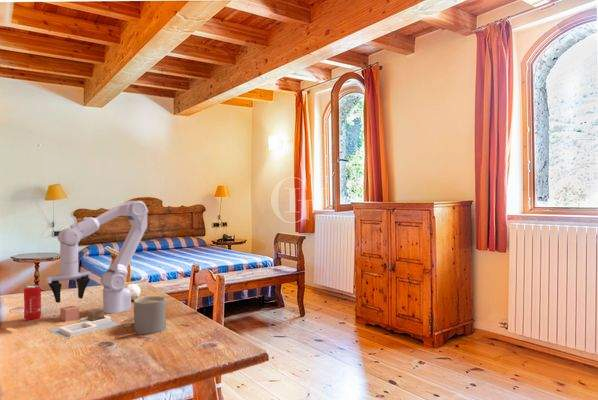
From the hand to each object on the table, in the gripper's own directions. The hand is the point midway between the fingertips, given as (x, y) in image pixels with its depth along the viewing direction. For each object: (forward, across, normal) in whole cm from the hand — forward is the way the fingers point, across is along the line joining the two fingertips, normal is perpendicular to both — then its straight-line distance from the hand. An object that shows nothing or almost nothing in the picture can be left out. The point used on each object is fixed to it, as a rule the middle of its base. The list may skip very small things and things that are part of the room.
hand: (69, 300), depth 149 cm
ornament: (+8, -30, -11) cm, 33 cm away
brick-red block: (+8, 0, 0) cm, 8 cm away
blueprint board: (+8, +1, +14) cm, 16 cm away
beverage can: (+8, +7, -14) cm, 18 cm away
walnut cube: (+7, -4, +11) cm, 14 cm away
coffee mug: (+8, -13, +29) cm, 33 cm away
